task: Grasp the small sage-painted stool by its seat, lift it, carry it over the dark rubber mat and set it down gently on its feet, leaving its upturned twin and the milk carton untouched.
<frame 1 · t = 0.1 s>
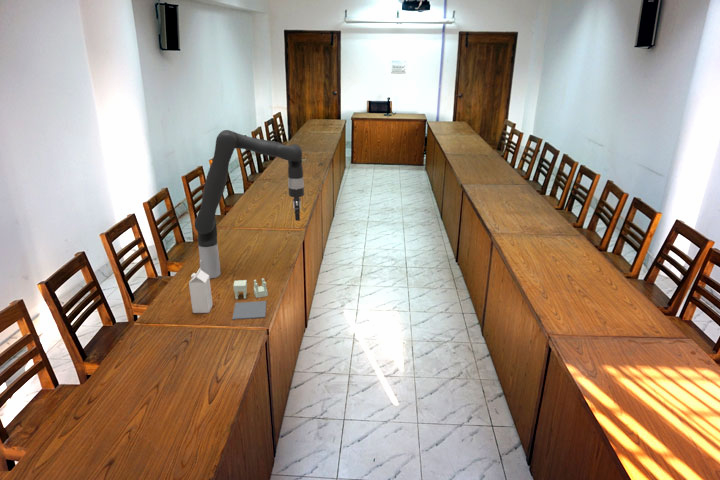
hand: (297, 217, 254), 29 cm above the table, fingers open, 8 cm apart
stool: (241, 296, 238), on the table
mat: (250, 310, 226), on the table
upturned twin: (260, 294, 240), on the table
milk carton: (203, 309, 227), on the table
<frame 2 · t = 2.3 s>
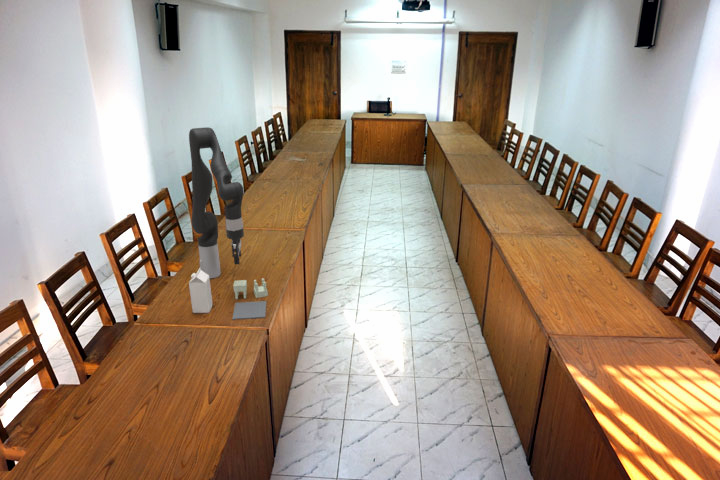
hand: (237, 260, 231), 19 cm above the table, fingers open, 8 cm apart
nothing on the table moved.
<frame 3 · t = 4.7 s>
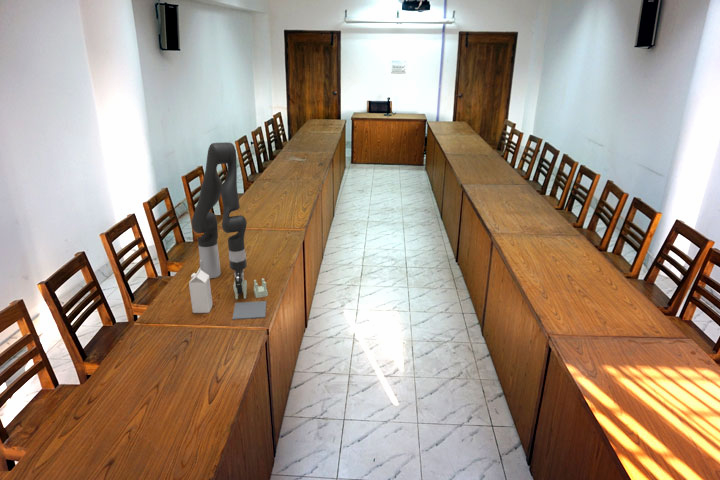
hand: (240, 290, 237), 3 cm above the table, fingers closed on stool, 5 cm apart
stool: (241, 296, 238), on the table, touching gripper
everything else where it was.
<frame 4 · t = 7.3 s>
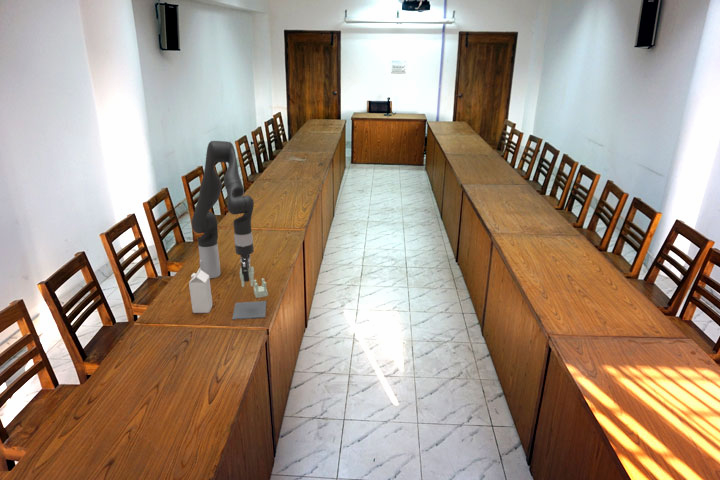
hand: (247, 277, 220), 16 cm above the table, fingers closed on stool, 5 cm apart
stool: (247, 284, 221), point 13 cm above the table, touching gripper
everything else where it was.
when the fingers open (5 cm above the table, at t = 10.2 s): stool drops 1 cm, resting on mat.
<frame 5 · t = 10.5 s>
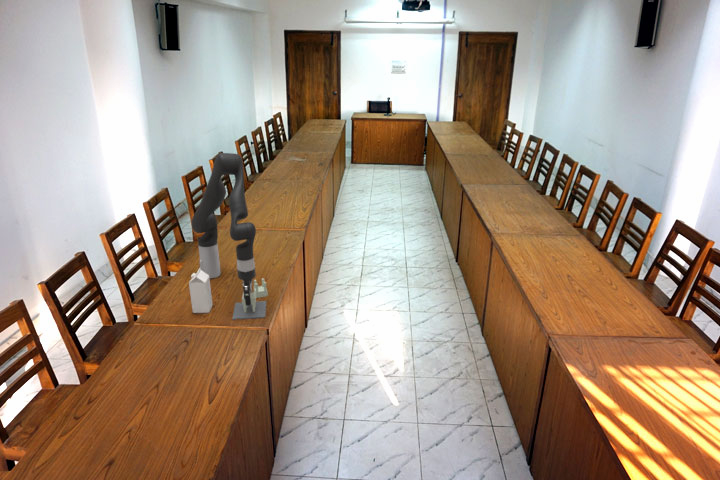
hand: (249, 300, 224), 5 cm above the table, fingers open, 8 cm apart
stool: (250, 309, 226), point 1 cm above the table, touching mat
everything else where it was.
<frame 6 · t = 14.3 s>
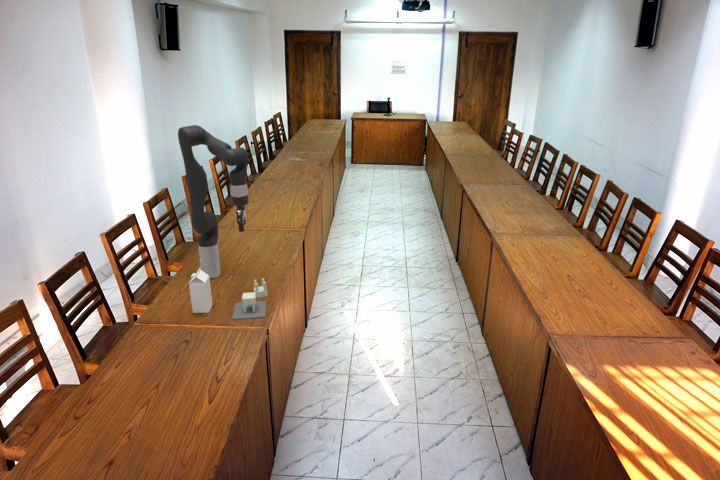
hand: (242, 228, 229), 33 cm above the table, fingers open, 8 cm apart
nothing on the table moved.
at the end: stool inside the target area on the mat (0.1 cm from its centre), point 0.6 cm above the mat's base; stool tilted 0°; the gripper is holding nothing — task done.
